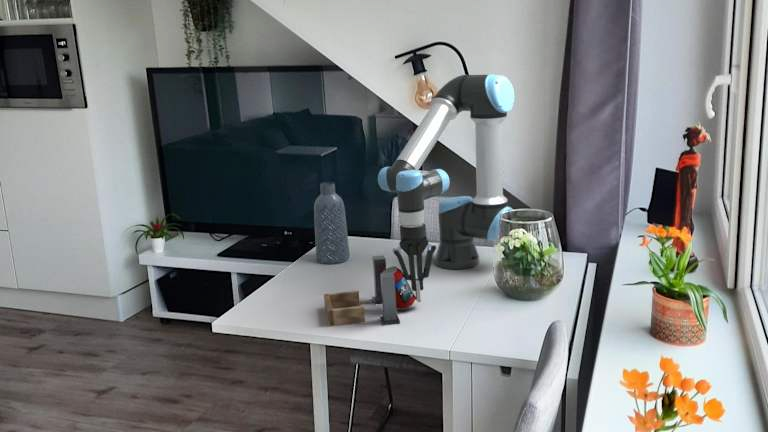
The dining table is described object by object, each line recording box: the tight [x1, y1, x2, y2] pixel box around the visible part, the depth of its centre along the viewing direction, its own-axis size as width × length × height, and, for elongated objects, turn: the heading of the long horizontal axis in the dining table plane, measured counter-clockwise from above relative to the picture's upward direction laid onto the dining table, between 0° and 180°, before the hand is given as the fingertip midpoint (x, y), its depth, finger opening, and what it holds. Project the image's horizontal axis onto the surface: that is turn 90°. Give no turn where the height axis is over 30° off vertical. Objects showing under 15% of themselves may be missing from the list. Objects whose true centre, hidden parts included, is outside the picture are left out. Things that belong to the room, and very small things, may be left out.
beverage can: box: [382, 265, 417, 310], centre depth 225 cm, size 7×7×12 cm
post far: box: [372, 255, 387, 305], centre depth 232 cm, size 5×5×14 cm
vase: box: [313, 181, 350, 265], centre depth 274 cm, size 12×12×28 cm
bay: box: [323, 290, 366, 327], centre depth 224 cm, size 10×14×4 cm
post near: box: [379, 272, 401, 326], centre depth 216 cm, size 5×5×14 cm
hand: (418, 300), depth 226 cm, fingers closed
